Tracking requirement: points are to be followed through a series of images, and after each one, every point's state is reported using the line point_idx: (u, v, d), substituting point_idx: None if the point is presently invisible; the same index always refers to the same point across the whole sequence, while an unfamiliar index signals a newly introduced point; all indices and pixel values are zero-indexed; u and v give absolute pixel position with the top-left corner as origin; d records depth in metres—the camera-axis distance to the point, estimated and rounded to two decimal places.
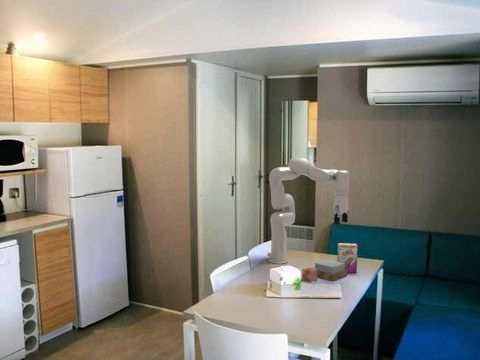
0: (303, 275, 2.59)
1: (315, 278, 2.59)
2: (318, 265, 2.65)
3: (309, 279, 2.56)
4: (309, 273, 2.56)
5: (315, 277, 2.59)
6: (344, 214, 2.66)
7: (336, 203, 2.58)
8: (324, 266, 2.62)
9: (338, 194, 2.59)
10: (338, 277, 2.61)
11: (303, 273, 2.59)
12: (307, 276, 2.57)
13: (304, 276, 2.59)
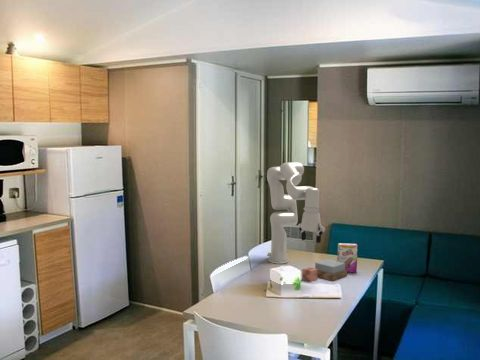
0: (303, 275, 2.59)
1: (315, 278, 2.59)
2: (318, 265, 2.65)
3: (309, 279, 2.56)
4: (309, 273, 2.56)
5: (315, 277, 2.59)
6: (304, 232, 2.61)
7: (318, 221, 2.53)
8: (324, 266, 2.62)
9: (317, 212, 2.54)
10: (338, 277, 2.61)
11: (303, 273, 2.59)
12: (307, 276, 2.57)
13: (304, 276, 2.59)
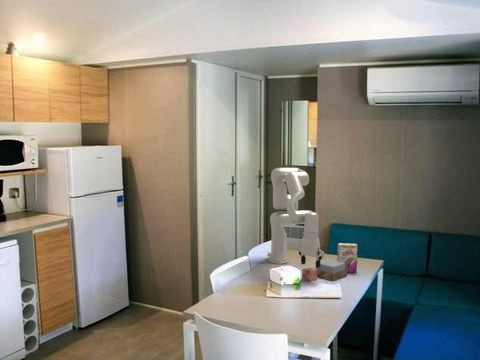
0: (303, 275, 2.59)
1: (315, 278, 2.59)
2: None
3: (309, 279, 2.56)
4: (309, 273, 2.56)
5: (315, 277, 2.59)
6: (303, 256, 2.62)
7: (317, 246, 2.54)
8: (324, 266, 2.62)
9: (316, 237, 2.55)
10: (338, 277, 2.61)
11: (303, 273, 2.59)
12: (307, 276, 2.57)
13: (304, 276, 2.59)
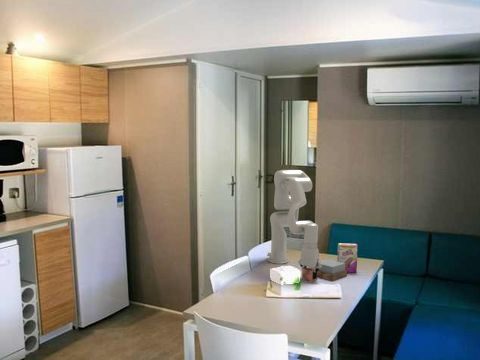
0: (303, 275, 2.59)
1: None
2: None
3: (309, 279, 2.56)
4: (309, 273, 2.56)
5: None
6: None
7: (317, 257, 2.55)
8: (324, 266, 2.62)
9: (316, 248, 2.56)
10: (338, 277, 2.61)
11: (303, 273, 2.59)
12: (307, 276, 2.57)
13: (304, 276, 2.59)
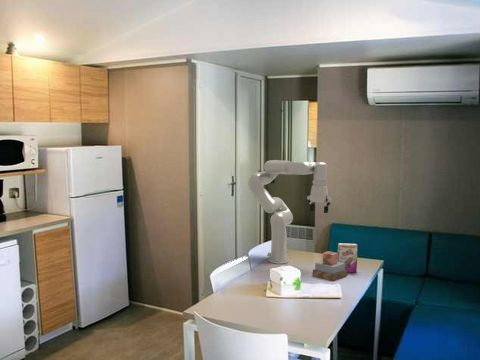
0: (324, 259, 2.65)
1: (335, 262, 2.65)
2: (318, 265, 2.65)
3: (330, 263, 2.62)
4: (330, 257, 2.62)
5: (335, 261, 2.65)
6: (312, 203, 2.82)
7: (326, 193, 2.75)
8: (324, 266, 2.62)
9: (325, 184, 2.76)
10: (338, 277, 2.61)
11: (324, 257, 2.65)
12: (328, 260, 2.63)
13: (325, 260, 2.64)
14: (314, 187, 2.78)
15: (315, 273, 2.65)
